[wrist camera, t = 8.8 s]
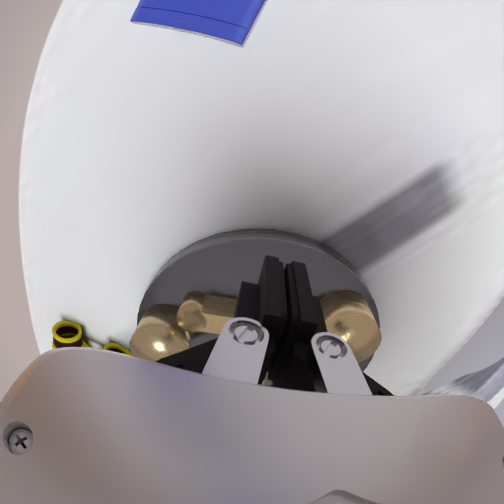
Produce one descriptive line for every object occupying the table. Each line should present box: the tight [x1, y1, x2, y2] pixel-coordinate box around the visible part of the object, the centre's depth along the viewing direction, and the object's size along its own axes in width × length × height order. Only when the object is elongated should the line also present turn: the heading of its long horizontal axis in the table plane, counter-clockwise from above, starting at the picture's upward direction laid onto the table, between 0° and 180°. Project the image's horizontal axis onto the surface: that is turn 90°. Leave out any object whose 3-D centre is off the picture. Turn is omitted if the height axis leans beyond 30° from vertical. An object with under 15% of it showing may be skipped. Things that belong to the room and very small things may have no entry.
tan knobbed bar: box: [176, 290, 381, 363], centre depth 19 cm, size 14×4×3 cm, turn 82°
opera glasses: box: [52, 321, 132, 356], centre depth 25 cm, size 10×5×5 cm, turn 66°
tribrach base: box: [129, 229, 380, 386], centre depth 23 cm, size 21×21×5 cm
